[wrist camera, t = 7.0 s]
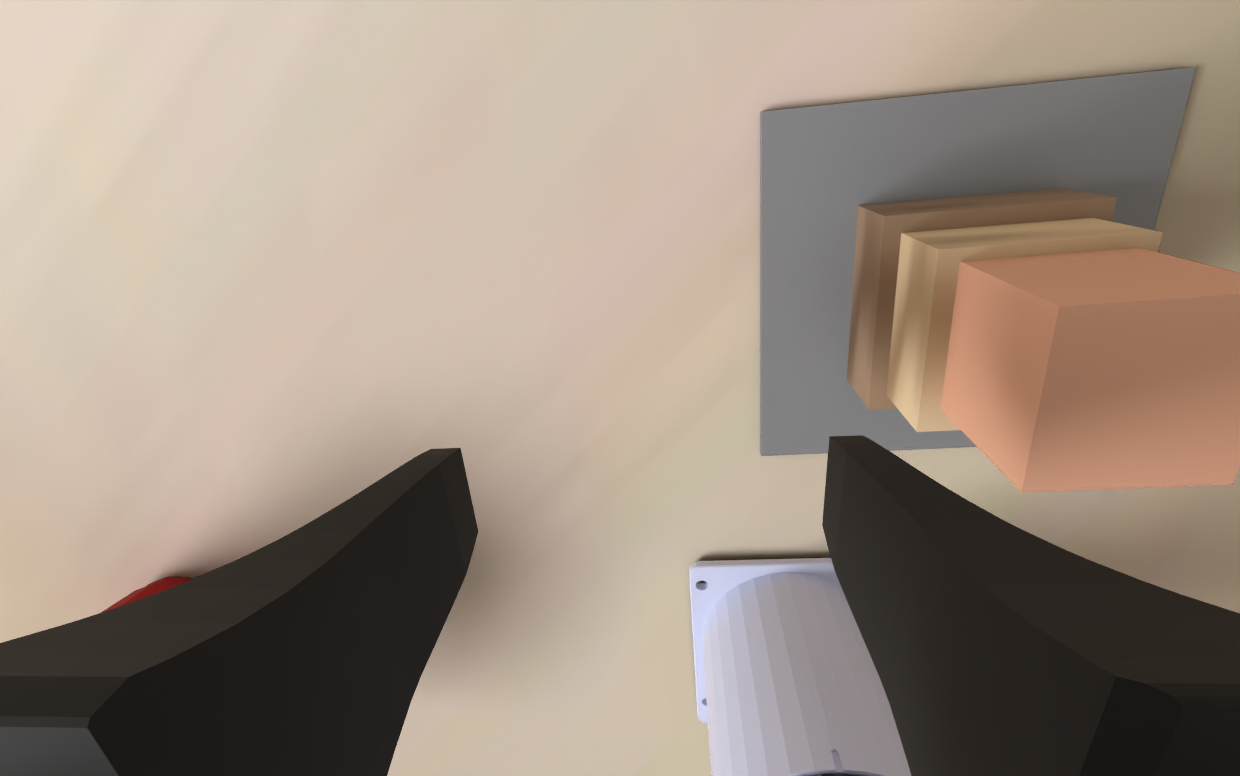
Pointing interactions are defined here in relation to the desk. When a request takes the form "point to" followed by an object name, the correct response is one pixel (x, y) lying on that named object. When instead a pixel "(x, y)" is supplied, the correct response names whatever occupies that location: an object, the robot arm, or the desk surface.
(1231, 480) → the cube
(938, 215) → the tower base
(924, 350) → the tower middle
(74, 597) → the desk surface
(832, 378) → the mat
